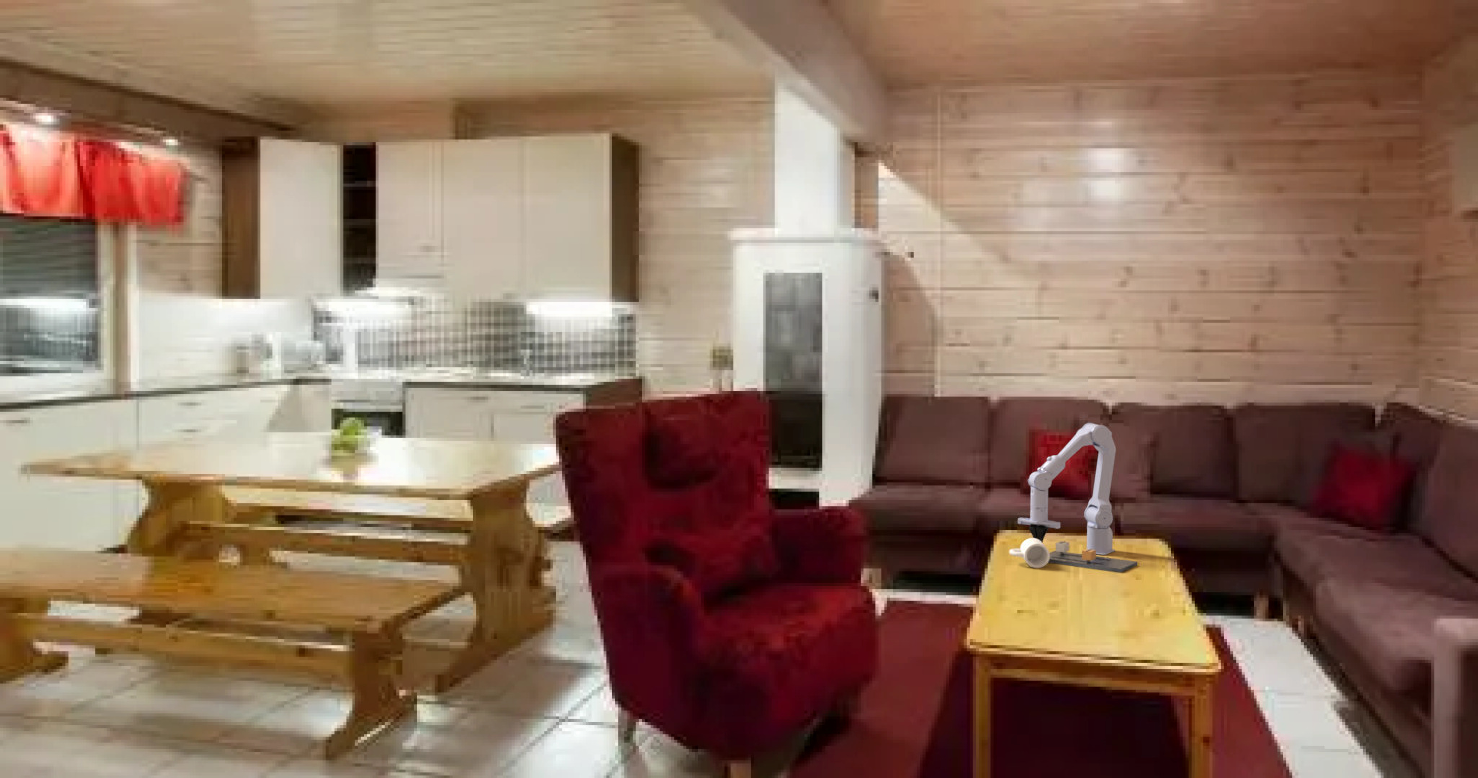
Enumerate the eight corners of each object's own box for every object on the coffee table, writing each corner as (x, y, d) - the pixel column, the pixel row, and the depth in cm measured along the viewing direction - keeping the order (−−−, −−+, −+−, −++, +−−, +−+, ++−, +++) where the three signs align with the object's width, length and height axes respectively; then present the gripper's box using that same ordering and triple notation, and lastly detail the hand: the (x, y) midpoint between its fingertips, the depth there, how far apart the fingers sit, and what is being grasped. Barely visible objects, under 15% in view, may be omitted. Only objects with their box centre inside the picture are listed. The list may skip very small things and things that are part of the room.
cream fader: (1060, 551, 384) (1060, 540, 383) (1069, 552, 382) (1069, 541, 381) (1055, 553, 380) (1055, 542, 380) (1064, 554, 379) (1064, 543, 378)
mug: (1044, 562, 375) (1044, 538, 374) (1049, 568, 365) (1050, 543, 364) (1007, 561, 376) (1007, 537, 375) (1011, 567, 366) (1011, 543, 365)
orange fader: (1086, 559, 371) (1086, 548, 370) (1095, 560, 369) (1095, 549, 368) (1081, 561, 367) (1081, 550, 367) (1090, 562, 366) (1091, 551, 365)
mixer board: (1055, 554, 387) (1055, 550, 386) (1137, 565, 369) (1137, 561, 369) (1037, 561, 375) (1037, 557, 375) (1120, 572, 358) (1121, 568, 358)
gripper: (1014, 506, 387) (1013, 546, 388) (1054, 511, 378) (1053, 551, 379) (1023, 504, 393) (1022, 543, 393) (1063, 508, 383) (1062, 548, 384)
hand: (1038, 547), depth 386 cm, fingers closed
